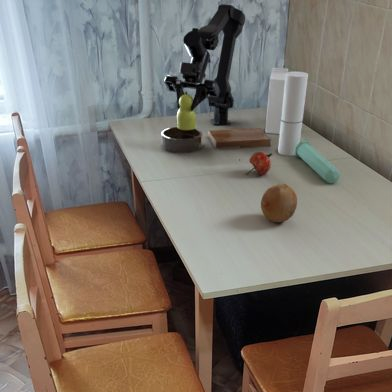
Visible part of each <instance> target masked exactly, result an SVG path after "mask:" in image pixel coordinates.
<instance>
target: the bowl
mask: <svg viewBox="0 0 392 392" xmlns="http://www.w3.org/2000/svg"><path fill="white" fill-rule="evenodd" d="M160 135H161V137H160V138H161V148H162V149H163V150H165V151H167V152H170V153H174V154H175V153H177V154H186V153H187V154H189V153H194V152H197V151H199V150H201V149H202V147H203V132H202V130H200V129H199V128H195V129H192V130H181V129H178V128H177V126H174V127H173V126H172V127H168V128H165V129H164V130H162V131H161V133H160Z"/></svg>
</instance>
